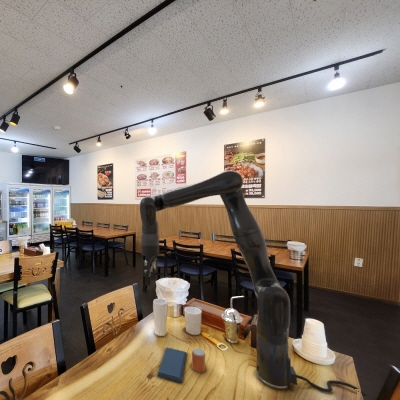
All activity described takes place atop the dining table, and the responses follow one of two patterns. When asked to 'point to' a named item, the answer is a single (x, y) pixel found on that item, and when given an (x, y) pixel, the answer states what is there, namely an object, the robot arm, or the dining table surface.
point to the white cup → (193, 320)
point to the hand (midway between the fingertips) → (150, 282)
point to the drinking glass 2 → (160, 316)
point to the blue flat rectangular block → (172, 365)
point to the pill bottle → (198, 360)
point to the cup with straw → (232, 323)
